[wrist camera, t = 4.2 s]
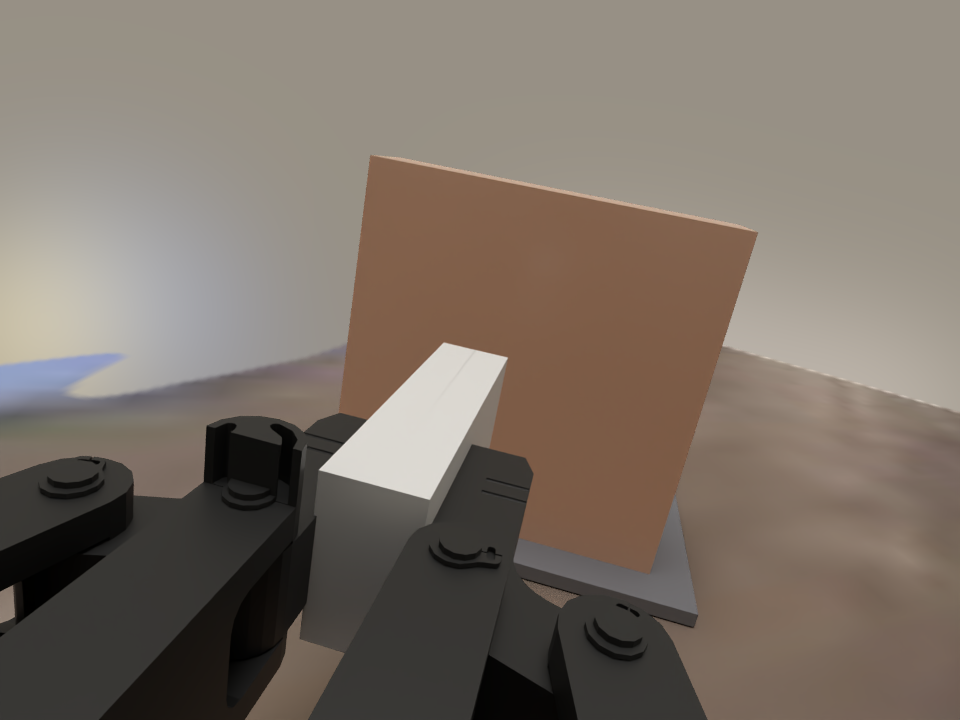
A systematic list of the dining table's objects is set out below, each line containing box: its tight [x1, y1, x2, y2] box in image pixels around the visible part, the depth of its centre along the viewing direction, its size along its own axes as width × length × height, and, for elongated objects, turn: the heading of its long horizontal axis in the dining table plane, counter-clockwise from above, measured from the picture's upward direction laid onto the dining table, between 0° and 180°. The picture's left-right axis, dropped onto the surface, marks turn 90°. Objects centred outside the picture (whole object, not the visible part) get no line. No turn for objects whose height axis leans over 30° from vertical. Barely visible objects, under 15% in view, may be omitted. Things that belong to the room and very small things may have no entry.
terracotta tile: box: [339, 155, 758, 574], centre depth 23 cm, size 12×3×12 cm, turn 78°
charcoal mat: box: [514, 496, 698, 627], centre depth 29 cm, size 15×16×1 cm
